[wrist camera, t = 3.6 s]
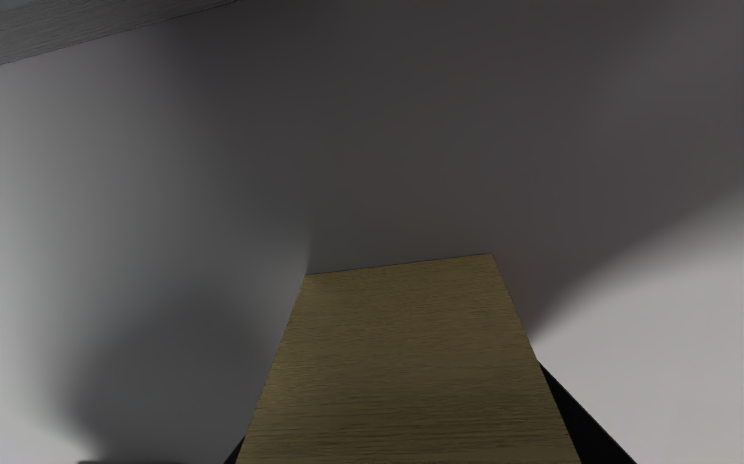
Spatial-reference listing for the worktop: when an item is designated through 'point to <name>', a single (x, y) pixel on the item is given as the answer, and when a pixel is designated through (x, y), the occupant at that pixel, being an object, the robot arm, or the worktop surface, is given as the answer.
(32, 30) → the grey flat block
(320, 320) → the brass cuboid
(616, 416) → the worktop surface
